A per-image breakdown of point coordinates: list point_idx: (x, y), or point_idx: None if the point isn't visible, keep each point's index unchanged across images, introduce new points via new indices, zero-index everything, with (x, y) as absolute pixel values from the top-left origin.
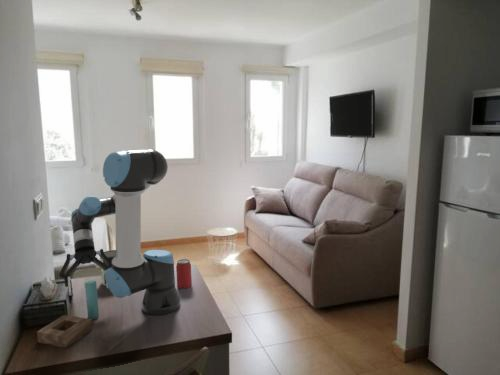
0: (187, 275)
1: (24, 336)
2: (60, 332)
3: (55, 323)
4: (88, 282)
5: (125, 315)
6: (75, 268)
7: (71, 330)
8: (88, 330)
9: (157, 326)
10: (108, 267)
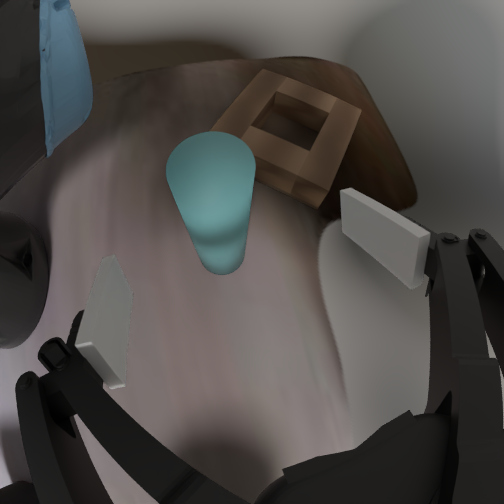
0: None
1: (404, 172)
2: (287, 88)
3: (330, 136)
4: (227, 169)
5: (100, 238)
6: (432, 364)
7: (256, 90)
8: None
9: None
10: (48, 350)
